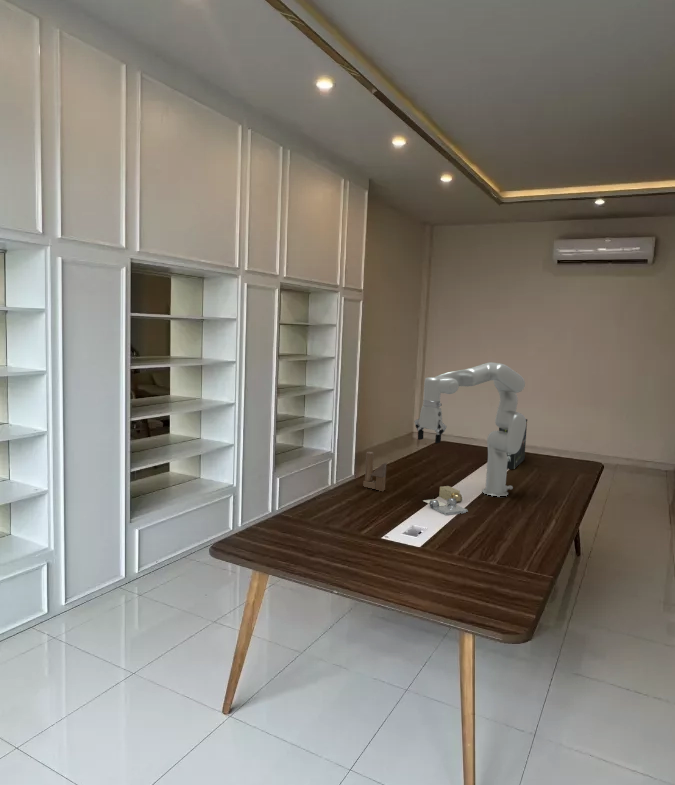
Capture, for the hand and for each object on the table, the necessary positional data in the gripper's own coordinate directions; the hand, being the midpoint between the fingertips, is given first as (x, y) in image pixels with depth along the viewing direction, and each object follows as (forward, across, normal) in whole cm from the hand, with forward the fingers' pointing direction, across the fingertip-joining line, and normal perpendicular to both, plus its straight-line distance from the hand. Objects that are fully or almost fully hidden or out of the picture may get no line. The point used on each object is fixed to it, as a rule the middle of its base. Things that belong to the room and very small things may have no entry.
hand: (429, 441), depth 265 cm
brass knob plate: (+29, -6, -13) cm, 32 cm away
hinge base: (+29, -14, +2) cm, 32 cm away
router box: (+29, +16, -110) cm, 115 cm away
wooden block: (+29, +28, +4) cm, 40 cm away
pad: (+28, -5, -1) cm, 29 cm away
